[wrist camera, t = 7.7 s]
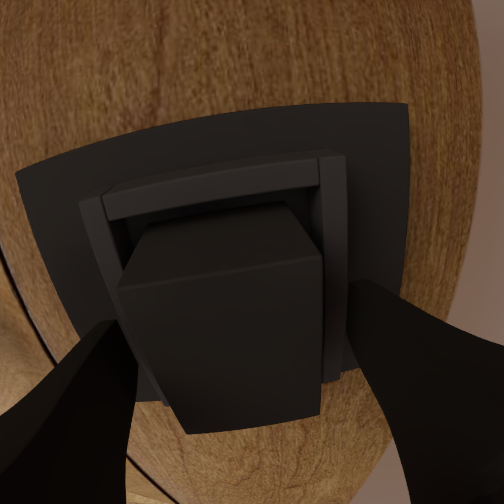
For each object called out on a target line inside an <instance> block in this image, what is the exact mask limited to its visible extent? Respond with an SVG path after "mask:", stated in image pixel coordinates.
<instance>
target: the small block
mask: <svg viewBox="0 0 504 504" xmlns="http://www.w3.org/2000/svg"><path fill="white" fill-rule="evenodd" d="M115 291H116V294H117V296H118V299H119V301H120V304H121V306H122V308H123V311H124V313H125V316H126V318H127V320H128V322H129V325H130V327H131V329H132V332H133V334H134V336H135V338H136V340H137V342H138V345H139V347H140V349H141V351H142V353H143V355H144V357H145V359H146V361H147V363H148V365H149V367H150V369H151V371H152V373H153V375H154V377H155V379H156V381H157V383H158V385H159V387H160V389H161V391H162V392H163V394H164V396H165V398H166V400H167V402H168V403H169V405H170V407H171V409H172V410H173V412H174V414H175V416H176V417H177V419H178V421H179V423H180V424H181V426H182V428H183V429H184V431H185V433H186V434H202V433H213V432H223V431H232V430H240V429H247V428H254V427H260V426H267V425H273V424H278V423H284V422H289V421H294V420H299V419H303V418H308V417H312V416H317V415H319V414H320V403H321V384H322V357H323V256H322V255H321V253H320V251H319V250H318V249H317V247H316V246H315V244H314V243H313V241H312V240H311V238H310V237H309V235H308V234H307V232H306V231H305V229H304V228H303V227H302V225H301V224H300V222H299V221H298V219H297V218H296V216H295V215H294V214H293V212H292V211H291V209H290V208H289V207H288V205H287V204H286V202H285V201H277V202H270V203H263V204H257V205H250V206H244V207H238V208H232V209H226V210H220V211H214V212H208V213H202V214H197V215H191V216H185V217H180V218H174V219H169V220H164V221H159V222H153V223H149V224H148V226H147V227H146V229H145V231H144V233H143V235H142V237H141V239H140V240H139V242H138V244H137V246H136V248H135V250H134V252H133V254H132V256H131V258H130V260H129V262H128V264H127V265H126V267H125V269H124V271H123V273H122V276H121V278H120V280H119V282H118V284H117V286H116V288H115Z"/></svg>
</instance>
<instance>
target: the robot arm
mask: <svg viewBox="0 0 504 504" xmlns="http://www.w3.org/2000/svg"><path fill="white" fill-rule="evenodd" d="M346 334H347V337H348V340H349V343H350V345H351V348H352V351H353V353H354V356H355V358H356V360H357V362H358V364H359V366H360V368H361V370H362V372H363V374H364V376H365V378H366V380H367V382H368V384H369V385H370V387H371V389H372V391H373V393H374V395H375V397H376V399H377V401H378V403H379V405H380V407H381V409H382V410H383V413H384V415H385V417H386V419H387V422H388V424H389V427H390V430H391V433H392V436H393V438H394V441H395V444H396V447H397V450H398V454H399V457H400V460H401V464H402V467H403V471H404V475H405V478H406V482H407V486H408V491H409V495H410V501H411V504H504V346H503V345H500V344H497V343H494V342H490V341H488V340H485V339H482V338H479V337H477V336H475V335H472V334H470V333H467V332H465V331H462V330H460V329H458V328H456V327H454V326H452V325H450V324H448V323H446V322H444V321H442V320H440V319H438V318H436V317H434V316H432V315H430V314H428V313H427V312H425V311H423V310H421V309H419V308H418V307H416V306H414V305H412V304H411V303H409V302H407V301H406V300H404V299H402V298H400V297H399V296H397V295H395V294H394V293H392V292H390V291H389V290H387V289H385V288H384V287H382V286H380V285H379V284H377V283H375V282H373V281H371V280H369V279H367V278H365V279H360V280H355V281H350V282H349V284H348V305H347V321H346ZM138 368H139V364H138V362H137V360H136V358H135V356H134V354H133V352H132V350H131V348H130V346H129V344H128V342H127V340H126V338H125V336H124V334H123V332H122V329H121V327H120V325H119V323H118V321H117V319H112V320H103V321H100V322H98V323H97V324H96V325H95V326H94V327H93V328H92V329H91V330H90V331H89V332H88V333H87V334H86V335H85V336H84V337H83V338H82V339H81V340H80V341H79V342H78V343H77V344H76V345H75V346H74V347H73V349H72V350H71V351H70V352H69V353H68V354H67V355H66V356H65V357H64V358H63V359H62V360H61V361H60V362H59V363H58V364H57V365H56V366H55V368H54V369H53V370H52V371H51V372H50V373H49V374H48V375H47V376H46V377H45V378H44V379H43V380H42V381H41V382H40V383H39V384H38V385H37V386H36V387H35V388H34V389H32V390H31V391H30V392H29V393H28V394H27V395H26V396H25V397H23V398H22V399H21V400H20V401H19V402H18V403H17V404H15V405H14V406H13V407H12V408H10V409H9V410H8V411H6V412H5V413H3V414H2V415H1V416H0V504H126V486H125V474H126V453H127V445H128V439H129V433H130V428H131V422H132V417H133V411H134V406H135V400H136V395H137V385H138Z"/></svg>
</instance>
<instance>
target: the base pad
mask: <svg viewBox="0 0 504 504" xmlns="http://www.w3.org/2000/svg"><path fill="white" fill-rule="evenodd" d="M15 175H16V179H17V183H18V186H19V190H20V194H21V197H22V201H23V204H24V207H25V210H26V214H27V217H28V220H29V223H30V226H31V229H32V232H33V234H34V237H35V240H36V243H37V245H38V248H39V251H40V253H41V256H42V258H43V261H44V263H45V266H46V268H47V271H48V273H49V275H50V278H51V280H52V282H53V285H54V287H55V289H56V291H57V293H58V296H59V298H60V300H61V302H62V304H63V306H64V308H65V310H66V312H67V314H68V316H69V318H70V320H71V322H72V324H73V326H74V328H75V330H76V332H77V334H78V335H79V337H80V339H82V338H83V337H84V336H85V335H86V334H87V333H88V332H89V331H90V330H91V329H92V328H93V327H94V326H95V325H96V324H97V323H98V322H100V321H103V320H112V319H117V321H118V323H119V325H120V327H121V329H122V332H123V334H124V336H125V338H126V340H127V342H128V344H129V346H130V348H131V350H132V352H133V354H134V356H135V358H136V360H137V362H138V364H139V368H138V385H137V395H136V400H135V402H145V401H162V402H163V404H164V406H166V407H167V406H170V405H169V403H168V402H167V400H166V398H165V396H164V394H163V392H162V391H161V389H160V387H159V385H158V383H157V381H156V379H155V377H154V375H153V373H152V371H151V369H150V367H149V365H148V363H147V361H146V359H145V357H144V355H143V353H142V351H141V349H140V347H139V345H138V342H137V340H136V338H135V336H134V334H133V332H132V329H131V327H130V325H129V322H128V320H127V318H126V316H125V313H124V311H123V308H122V306H121V304H120V301H119V299H118V296H117V294H116V291H115V288H116V286H117V284H118V282H119V280H120V278H121V276H122V273H123V271H124V269H125V267H126V265H127V264H128V262H129V260H130V258H131V256H132V254H133V252H134V250H135V248H136V246H137V244H138V242H139V240H140V239H141V237H142V235H143V233H144V231H145V229H146V227H147V226H148V224H149V223H153V222H159V221H164V220H169V219H174V218H180V217H185V216H191V215H197V214H202V213H208V212H214V211H220V210H226V209H232V208H238V207H244V206H250V205H257V204H263V203H270V202H277V201H285V202H286V204H287V205H288V207H289V208H290V209H291V211H292V212H293V214H294V215H295V216H296V218H297V219H298V221H299V222H300V224H301V225H302V227H303V228H304V229H305V231H306V232H307V234H308V235H309V237H310V238H311V240H312V241H313V243H314V244H315V246H316V247H317V249H318V250H319V251H320V253H321V255H322V256H323V357H322V383H323V384H324V383H328V382H332V381H336V380H340V375H341V372H345V371H349V370H352V369H356V368H360V366H359V364H358V362H357V360H356V358H355V356H354V353H353V351H352V348H351V345H350V343H349V340H348V337H347V334H346V321H347V305H348V284H349V282H350V281H355V280H360V279H365V278H367V279H369V280H371V281H373V282H375V283H377V284H379V285H380V286H382V287H384V288H385V289H387V290H389V291H390V292H392V293H394V294H395V295H397V296H399V295H400V288H401V281H402V273H403V265H404V256H405V247H406V236H407V223H408V207H409V181H410V142H409V117H408V105H407V104H405V103H377V102H354V103H322V104H305V105H292V106H280V107H270V108H261V109H253V110H245V111H238V112H231V113H224V114H218V115H212V116H206V117H200V118H195V119H189V120H184V121H179V122H175V123H170V124H165V125H161V126H156V127H152V128H148V129H144V130H140V131H136V132H132V133H128V134H124V135H121V136H117V137H113V138H110V139H106V140H103V141H100V142H96V143H93V144H90V145H87V146H84V147H80V148H77V149H74V150H71V151H69V152H66V153H63V154H60V155H57V156H54V157H52V158H49V159H46V160H44V161H41V162H38V163H36V164H33V165H31V166H28V167H26V168H24V169H21V170H19V171H17V172H16V173H15Z"/></svg>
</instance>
